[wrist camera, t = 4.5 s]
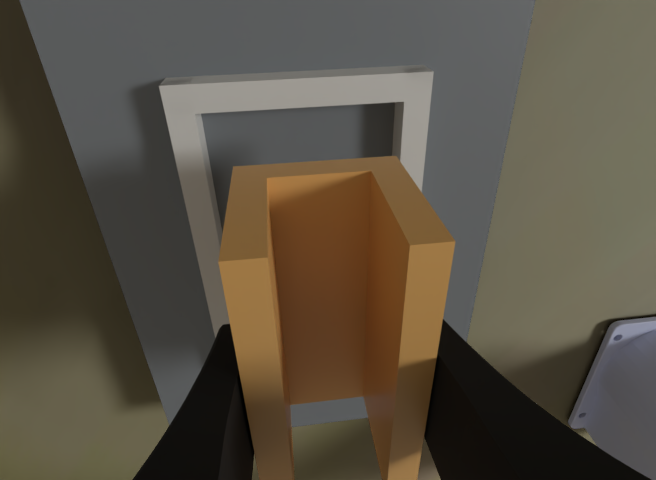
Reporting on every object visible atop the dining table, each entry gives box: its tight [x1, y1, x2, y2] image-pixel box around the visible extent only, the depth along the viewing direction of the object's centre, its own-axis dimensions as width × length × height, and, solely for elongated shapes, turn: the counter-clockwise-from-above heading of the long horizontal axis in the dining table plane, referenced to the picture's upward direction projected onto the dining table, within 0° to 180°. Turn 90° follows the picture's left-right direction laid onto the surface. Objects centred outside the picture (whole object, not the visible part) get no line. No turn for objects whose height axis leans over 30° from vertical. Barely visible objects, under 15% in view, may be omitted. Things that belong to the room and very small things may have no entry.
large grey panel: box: [20, 0, 535, 427], centre depth 17 cm, size 20×14×4 cm
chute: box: [218, 156, 455, 480], centre depth 11 cm, size 8×4×4 cm, turn 1°
